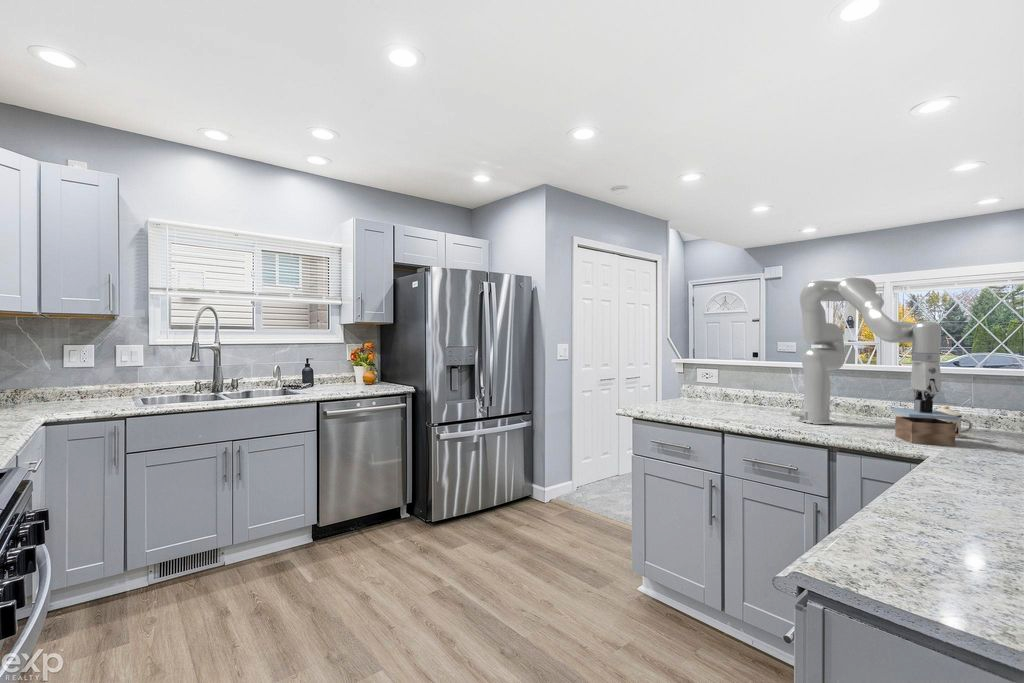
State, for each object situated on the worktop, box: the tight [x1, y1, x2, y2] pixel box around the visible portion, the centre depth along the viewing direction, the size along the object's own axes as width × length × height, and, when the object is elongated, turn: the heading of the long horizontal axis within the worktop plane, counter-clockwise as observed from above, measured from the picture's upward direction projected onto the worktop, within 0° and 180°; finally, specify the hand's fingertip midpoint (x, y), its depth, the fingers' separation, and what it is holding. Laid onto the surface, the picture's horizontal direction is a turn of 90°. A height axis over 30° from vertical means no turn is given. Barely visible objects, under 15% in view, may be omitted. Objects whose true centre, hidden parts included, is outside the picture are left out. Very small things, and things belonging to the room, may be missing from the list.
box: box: [894, 415, 956, 447], centre depth 167 cm, size 12×12×8 cm
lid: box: [890, 399, 959, 420], centre depth 167 cm, size 14×14×5 cm
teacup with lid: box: [936, 405, 974, 439], centre depth 176 cm, size 12×9×12 cm
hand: (923, 410), depth 167 cm, fingers closed on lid, 3 cm apart
